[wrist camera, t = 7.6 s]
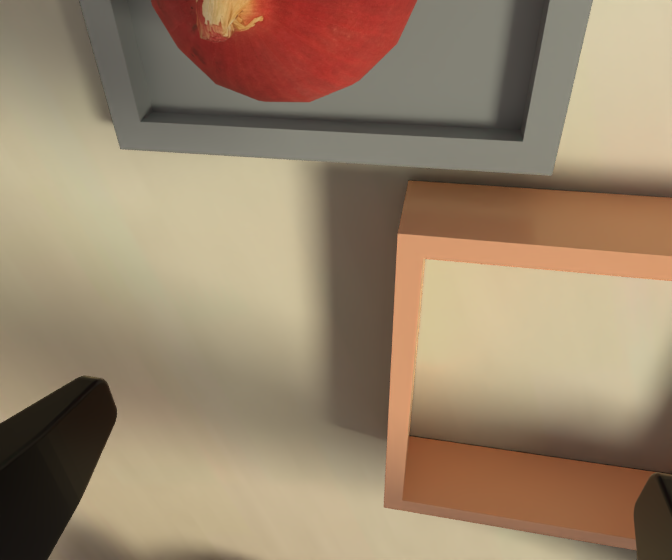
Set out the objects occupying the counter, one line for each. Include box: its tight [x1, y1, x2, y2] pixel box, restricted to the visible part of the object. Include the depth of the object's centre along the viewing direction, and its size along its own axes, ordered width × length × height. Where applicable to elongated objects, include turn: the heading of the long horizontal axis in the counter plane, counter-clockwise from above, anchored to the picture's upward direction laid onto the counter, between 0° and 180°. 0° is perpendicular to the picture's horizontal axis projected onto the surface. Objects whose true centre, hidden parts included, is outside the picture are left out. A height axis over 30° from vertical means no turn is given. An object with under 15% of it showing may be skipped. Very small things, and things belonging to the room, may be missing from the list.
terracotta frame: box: [384, 180, 672, 550], centre depth 20 cm, size 15×15×4 cm
